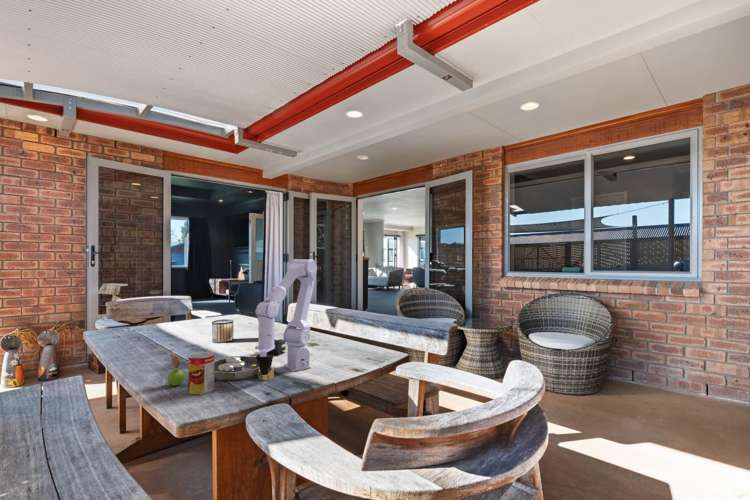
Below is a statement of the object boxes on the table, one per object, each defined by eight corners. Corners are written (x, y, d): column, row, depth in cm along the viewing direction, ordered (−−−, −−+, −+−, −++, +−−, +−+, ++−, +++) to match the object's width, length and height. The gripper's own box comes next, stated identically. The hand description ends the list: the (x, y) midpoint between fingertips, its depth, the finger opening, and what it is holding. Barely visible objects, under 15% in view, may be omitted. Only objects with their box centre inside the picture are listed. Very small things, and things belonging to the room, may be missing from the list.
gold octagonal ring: (276, 377, 135) (276, 369, 135) (264, 381, 130) (264, 372, 130) (267, 374, 138) (267, 366, 138) (255, 378, 134) (255, 370, 134)
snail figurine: (179, 380, 131) (179, 347, 131) (187, 384, 127) (187, 350, 127) (163, 385, 126) (163, 350, 127) (170, 389, 122) (171, 353, 123)
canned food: (196, 385, 126) (196, 351, 126) (218, 386, 125) (218, 351, 125) (182, 394, 118) (183, 357, 118) (206, 395, 117) (206, 357, 118)
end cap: (258, 354, 166) (258, 339, 166) (268, 351, 173) (268, 336, 173) (277, 356, 163) (277, 341, 163) (286, 353, 169) (286, 338, 169)
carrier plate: (275, 373, 140) (276, 361, 140) (215, 385, 126) (215, 372, 126) (255, 360, 157) (255, 350, 157) (200, 369, 143) (200, 358, 144)
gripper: (259, 330, 141) (258, 365, 141) (251, 339, 127) (250, 378, 126) (277, 330, 142) (277, 365, 142) (272, 338, 128) (271, 377, 127)
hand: (266, 371), depth 134 cm, fingers open, 7 cm apart
